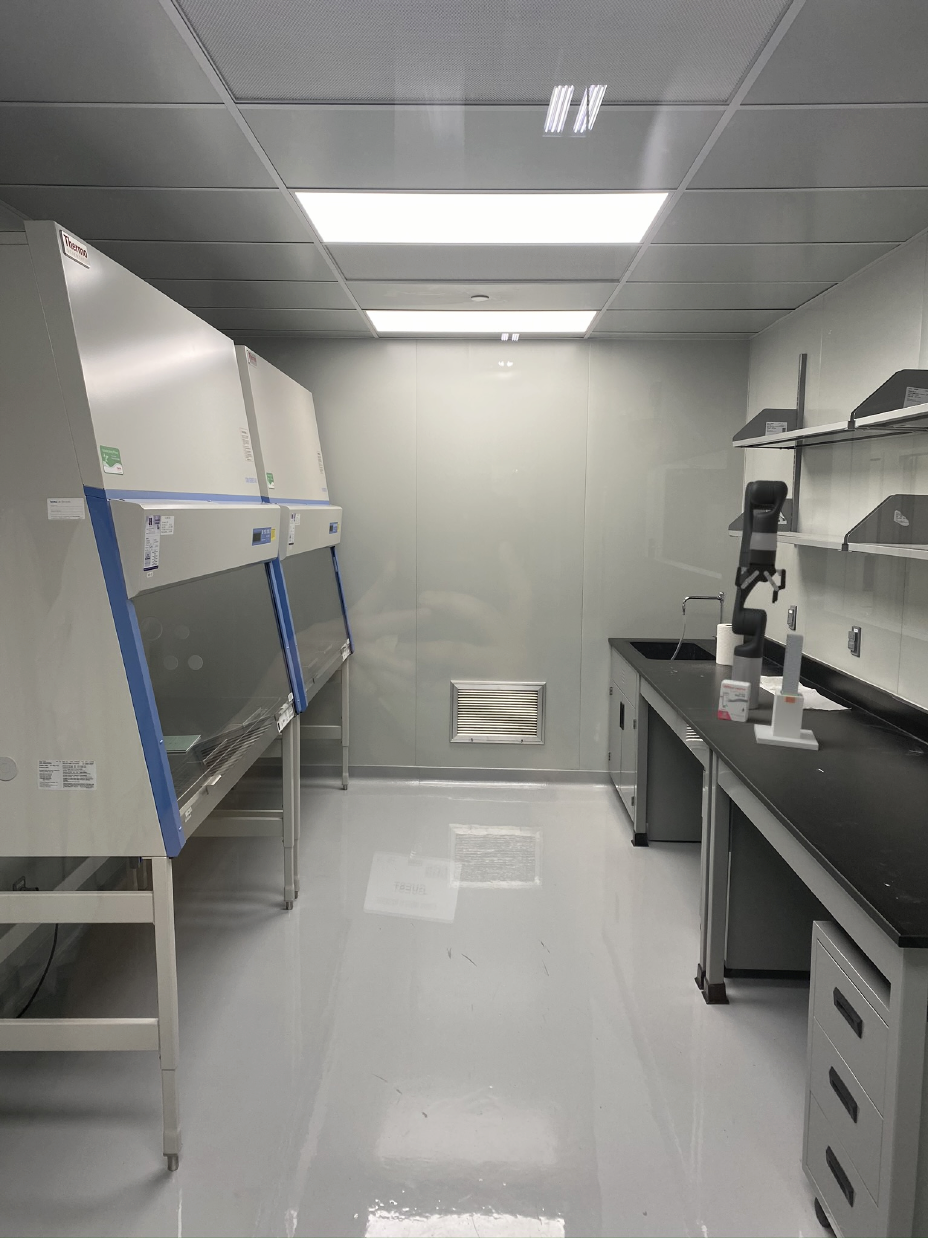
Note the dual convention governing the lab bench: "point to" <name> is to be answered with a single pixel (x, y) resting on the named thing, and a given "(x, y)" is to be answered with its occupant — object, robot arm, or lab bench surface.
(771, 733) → the stand housing
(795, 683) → the steel post
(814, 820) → the lab bench surface
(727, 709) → the ink box
